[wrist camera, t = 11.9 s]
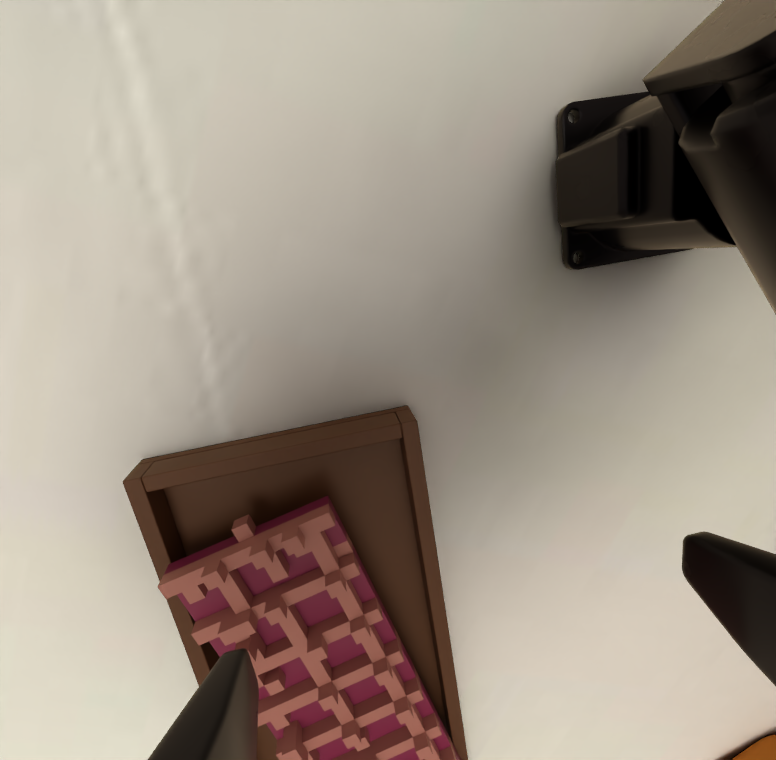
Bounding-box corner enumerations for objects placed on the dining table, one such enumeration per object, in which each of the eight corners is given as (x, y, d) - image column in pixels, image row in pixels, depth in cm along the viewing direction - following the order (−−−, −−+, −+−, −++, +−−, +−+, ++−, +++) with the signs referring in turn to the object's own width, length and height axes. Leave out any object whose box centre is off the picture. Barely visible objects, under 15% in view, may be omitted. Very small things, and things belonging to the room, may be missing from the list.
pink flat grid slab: (321, 482, 18) (322, 508, 16) (462, 763, 24) (474, 805, 22) (160, 552, 18) (142, 586, 16) (341, 819, 24) (343, 867, 22)
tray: (407, 404, 20) (417, 419, 18) (463, 764, 27) (474, 803, 25) (141, 459, 19) (121, 481, 17) (270, 821, 26) (266, 866, 24)
